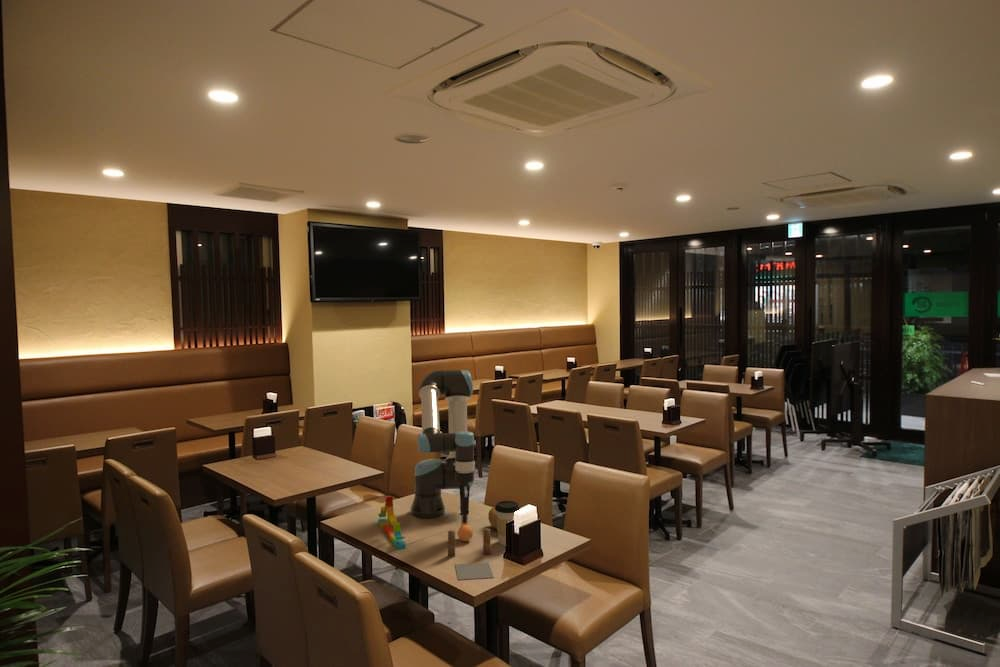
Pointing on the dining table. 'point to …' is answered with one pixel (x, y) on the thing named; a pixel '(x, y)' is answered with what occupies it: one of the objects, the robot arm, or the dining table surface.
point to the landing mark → (473, 571)
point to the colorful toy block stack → (391, 532)
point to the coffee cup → (504, 517)
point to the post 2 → (486, 541)
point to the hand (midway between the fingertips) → (464, 530)
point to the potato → (492, 517)
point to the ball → (465, 533)
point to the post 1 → (451, 543)
